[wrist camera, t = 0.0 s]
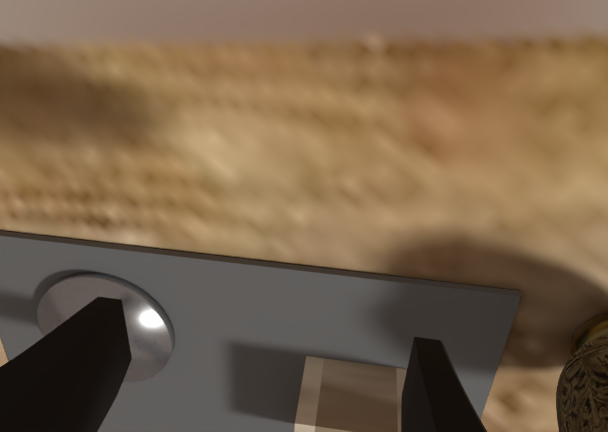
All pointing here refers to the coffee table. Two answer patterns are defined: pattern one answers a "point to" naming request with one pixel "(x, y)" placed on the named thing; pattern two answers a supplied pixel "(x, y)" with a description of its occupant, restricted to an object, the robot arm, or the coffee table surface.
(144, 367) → the post
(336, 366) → the collar
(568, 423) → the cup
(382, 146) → the coffee table surface
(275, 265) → the mat
